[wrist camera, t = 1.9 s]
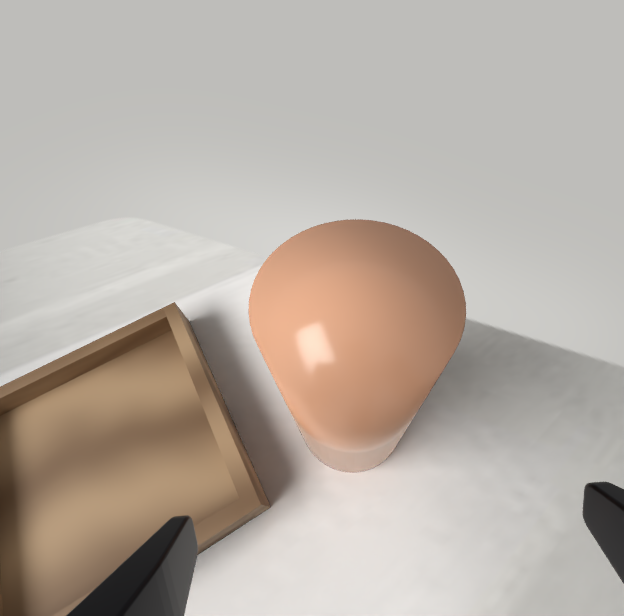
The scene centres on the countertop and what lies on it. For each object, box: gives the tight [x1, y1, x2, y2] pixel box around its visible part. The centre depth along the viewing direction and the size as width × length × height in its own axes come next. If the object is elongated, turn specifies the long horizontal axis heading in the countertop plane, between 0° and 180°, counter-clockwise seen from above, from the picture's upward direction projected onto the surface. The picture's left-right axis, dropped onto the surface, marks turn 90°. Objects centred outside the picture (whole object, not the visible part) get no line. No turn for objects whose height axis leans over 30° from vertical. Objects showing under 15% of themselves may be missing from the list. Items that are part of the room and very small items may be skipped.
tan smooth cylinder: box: [249, 220, 466, 473], centre depth 15 cm, size 6×6×13 cm
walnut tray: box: [0, 302, 270, 616], centre depth 20 cm, size 14×14×2 cm
